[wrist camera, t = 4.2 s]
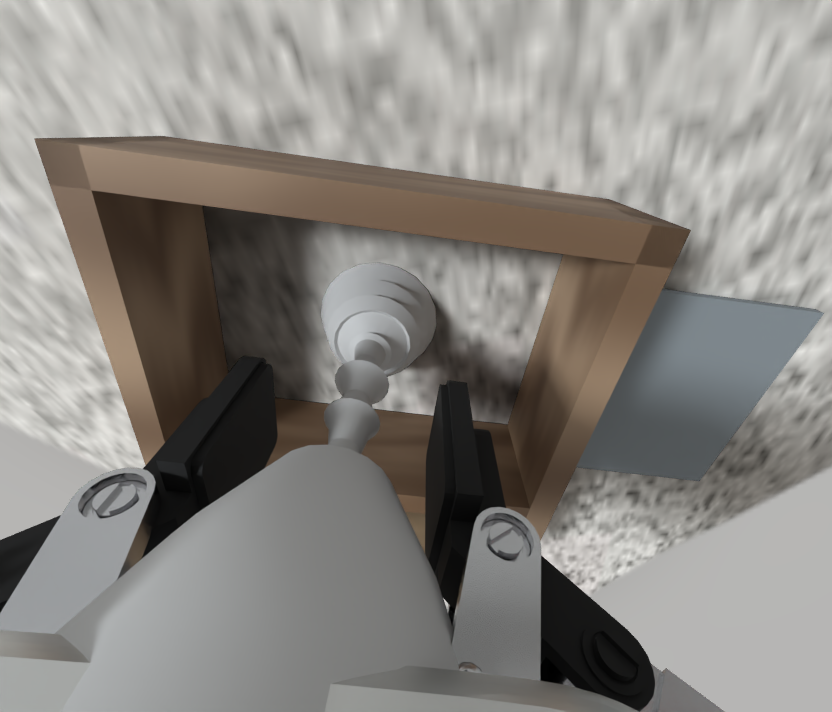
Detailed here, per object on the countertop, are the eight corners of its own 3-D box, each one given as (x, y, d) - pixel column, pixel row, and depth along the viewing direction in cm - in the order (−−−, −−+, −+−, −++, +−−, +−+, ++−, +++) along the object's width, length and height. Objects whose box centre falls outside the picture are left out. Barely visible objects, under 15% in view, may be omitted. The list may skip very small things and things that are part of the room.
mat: (604, 281, 15) (608, 284, 15) (815, 309, 16) (824, 313, 15) (534, 457, 20) (536, 462, 20) (694, 475, 21) (699, 481, 20)
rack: (163, 136, 13) (34, 138, 9) (609, 199, 14) (690, 230, 10) (227, 479, 22) (179, 563, 18) (497, 508, 23) (513, 596, 18)
